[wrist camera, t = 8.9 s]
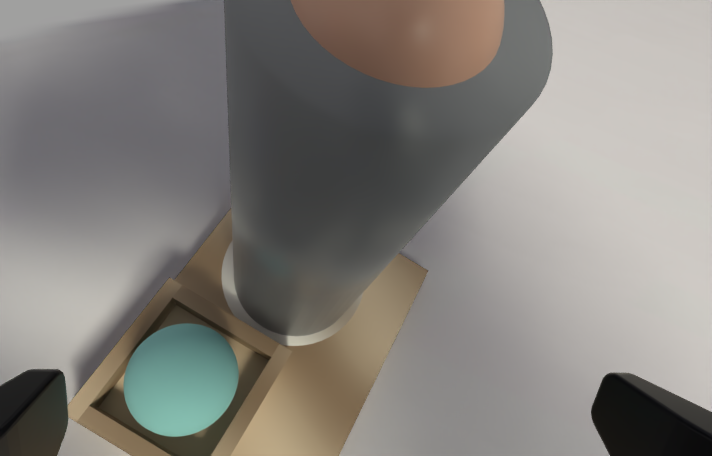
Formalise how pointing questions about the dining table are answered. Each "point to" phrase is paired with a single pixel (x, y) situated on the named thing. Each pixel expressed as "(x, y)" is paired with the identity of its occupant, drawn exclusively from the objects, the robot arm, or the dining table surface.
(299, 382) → the tan wooden tray
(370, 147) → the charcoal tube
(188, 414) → the teal ball
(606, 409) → the robot arm
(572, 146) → the dining table surface
